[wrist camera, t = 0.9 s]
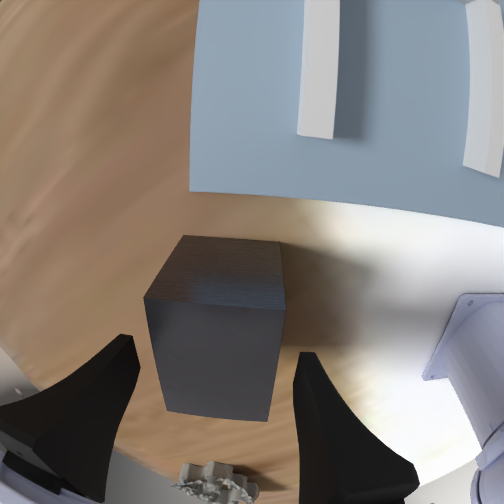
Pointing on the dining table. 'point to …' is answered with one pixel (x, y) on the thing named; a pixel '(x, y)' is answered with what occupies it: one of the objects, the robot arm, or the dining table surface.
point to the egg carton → (216, 484)
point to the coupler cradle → (352, 103)
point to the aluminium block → (218, 326)
